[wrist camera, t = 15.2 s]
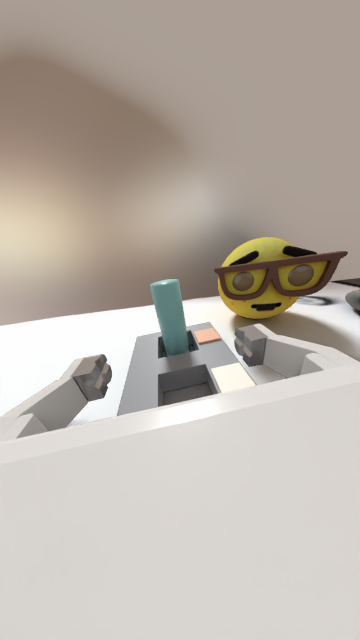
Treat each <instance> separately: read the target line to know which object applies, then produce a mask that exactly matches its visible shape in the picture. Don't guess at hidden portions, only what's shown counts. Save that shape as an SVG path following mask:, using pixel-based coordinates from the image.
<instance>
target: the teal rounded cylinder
mask: <svg viewBox="0 0 360 640" xmlns="http://www.w3.org/2000/svg"><path fill="white" fill-rule="evenodd" d="M150 288H151V293H152V296H153V301H154V305H155V309H156V313H157V317H158V321H159V325H160V329H161V333H162V337H163V341H164V346H165V350H166V354H167V357H168V356H173V355H177V354H182V353H186V352H190V349H189V343H188V337H187V330H186V324H185V318H184V311H183V305H182V299H181V293H180V287H179V280H177V279H171V280H163V281H159V282H155V283H152V284H151V285H150Z"/></svg>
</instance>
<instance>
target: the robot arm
mask: <svg viewBox="0 0 360 640" xmlns="http://www.w3.org/2000/svg"><path fill="white" fill-rule="evenodd" d="M235 335H236V339H235V340H234V343H235V349H236V351H237V352H238V354H239V355H241V356H243V360H244V361H245V363H246V364H247V365H248V366H249V367H251V366H256V365H262V364H263V365H264V366H266V367H268V368H270V369H272V370H274V371H275V372H277V373H279V374H281V375H283V376H285V377H287V378H286V379H282V380H277V381H273V382H269V383H264V384H260V385H255V386H251V387H246V388H242V389H237V390H232V391H228V392H223V393H219V394H214V395H210V396H205V397H201V398H196V399H192V400H187V401H183V402H178V403H174V404H170V405H165V406H161V407H156V408H152V409H147V410H143V411H138V412H134V413H129V414H125V415H120V416H116V417H111V418H107V419H102V420H98V421H93V422H89V423H84V424H80V425H75V426H71V427H66V426H67V425H68V424H69V423H70V422H71V421H72V420H73V419H74V418H75V417H76V415H77V414H78V413H79V412H80V411H81V410H82V409H83V408H84V407H85V405H86V404H87V403H88V402H89V401H93V400H97V399H101V398H104V396H105V394H106V391H107V389H108V387H107V384H108V383H109V382H110V381H111V378H112V371H111V367H110V365H108V364H106V361H107V359H106V357H105V355H103V354H101V355H96V356H90V357H84V358H79V359H76V360H74V362H73V363H72V364H71V365H70V367H69V368H68V369H67V370H66V372H65V373H64V374H63V375H62V377H61V378H60V379H59V380H56V381H54V382H53V383H51V384H50V385H48V386H47V387H45V388H44V389H42V390H41V391H39V392H38V393H36V394H35V395H33V396H32V397H30V398H29V399H27V400H26V401H24V402H23V403H21V404H20V405H18V406H17V407H15V408H14V409H12V410H11V411H9V412H8V413H6V414H5V415H3V416H2V417H0V640H360V362H359V361H357V360H355V359H353V358H351V357H350V356H348V355H346V354H344V353H342V352H340V351H339V350H337V349H335V348H332V347H327V346H323V345H319V344H315V343H311V342H307V341H303V340H299V339H295V338H291V337H287V336H283V335H277V334H275V333H274V332H272V331H271V330H269V329H268V328H266V327H265V326H263V325H262V324H259V323H258V324H253V325H249V326H245V327H240V328H236V329H235Z"/></svg>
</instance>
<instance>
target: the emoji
mask: <svg viewBox="0 0 360 640" xmlns="http://www.w3.org/2000/svg"><path fill="white" fill-rule="evenodd" d="M347 253H348V252H346V251H338V252H330V253H323V254H317V253H316V252H313V251H309V250H305V249H301V248H298V247H295V246H294V245H292V244H291V243H289V242H287V241H285V240H282V239H278V238H270V237H265V238H258V239H254V240H251V241H248V242H246V243H244V244H242V245H241V246H239V247H238V248H237V249H235V250H234V251H233V252H232V253H231V254H230V255H229V256H228V257H227V259H226V260H225V262H224V263H223V265H222V267H218V268H215V269H214V271H215V272H216V273H218V275H219V277H218V288H219V293H220V296H221V298H222V300H223V302H224V303H225V305H226V306H227V307H228V308H229V309H230V310H231V311H233V312H234V313H236V314H238V315H240V316H243V317H246V318H252V319H262V318H268V317H272V316H275V315H277V314H280V313H281V312H283V311H285V310H286V309H288V308H289V307H291V306H292V305H293V304H294V303H295V302H296V301H297V299H298V298H299V297H300V296H306V295H310V294H313V293H316V292H318V291H319V290H321V289H322V288H323V287H325V286H326V284H327V283H328V282H329V280H330V279H331V277H332V275H333V273H334V272H335V270H336V268H337V265H338V263H339V261H340V259H341V258H343V257H344V256H346V255H347Z"/></svg>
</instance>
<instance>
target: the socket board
mask: <svg viewBox="0 0 360 640" xmlns="http://www.w3.org/2000/svg"><path fill="white" fill-rule="evenodd" d="M186 330H187V337H188V343H189V346H190V345H193V346H194V349H195V351H191V352H186V353H182V354H177V355H173V356H168V357H163V358H162V351H166V350H165V346H164V341H163V337H162V333H161V332H158V333H154V334H149V335H144V336H139V337H137V339H136V343H135V347H134V351H133V355H132V358H131V362H130V366H129V370H128V374H127V378H126V382H125V386H124V390H123V393H122V397H121V401H120V405H119V409H118V413H117V416H120V415H125V414H129V413H134V412H138V411H143V410H147V409H152V408H156V407H161V406H164V398H163V392H167V391H172V390H176V389H180V388H185V387H189V386H193V385H198V384H202V383H206V382H208V385H209V388H210V390H211V393H212V395H214V394H219V393H223V392H228V391H232V390H237V389H242V388H246V387H251V386H255V385H257V384H256V383H255V382H254V380H253V379H252V378H251V376H250V375H249V374H248V372H247V371H246V370H245V369H244V367H243V366H242V365H241V363H240V362H239V361H238V359H237V358H236V357H235V355H234V354H233V353H232V351H231V350H230V349H229V347H228V346H227V345H226V343H225V342H224V341H223V339H222V338H221V337H220V335H219V334H218V333H217V331H216V330H215V329H214V327H213V326H212V325H211V323H210V322H207V323H202V324H197V325H192V326H188V327H186Z"/></svg>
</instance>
